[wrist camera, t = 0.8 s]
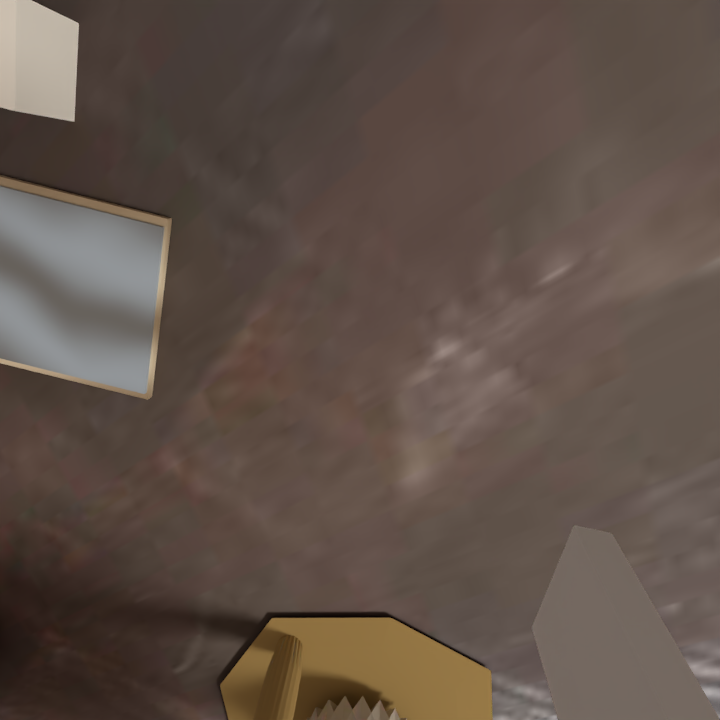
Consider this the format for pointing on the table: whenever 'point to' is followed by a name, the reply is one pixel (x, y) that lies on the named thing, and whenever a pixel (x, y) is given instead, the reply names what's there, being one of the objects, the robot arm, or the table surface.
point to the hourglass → (353, 674)
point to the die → (37, 60)
